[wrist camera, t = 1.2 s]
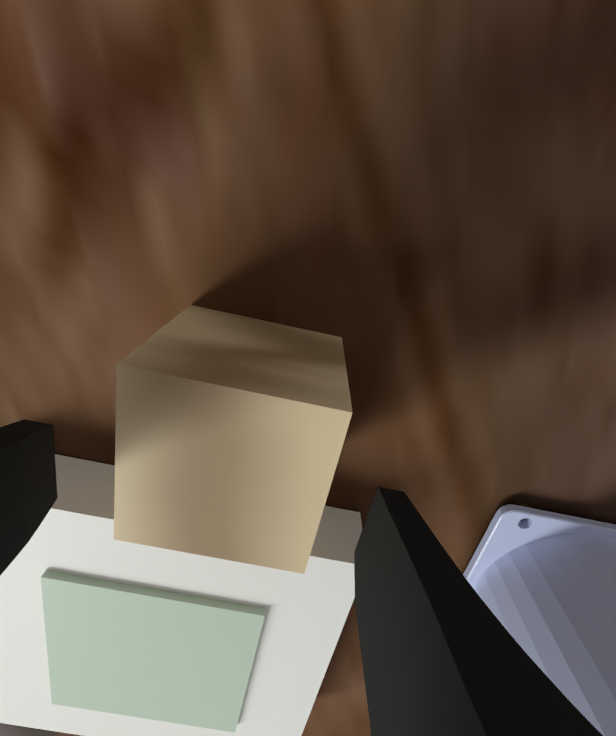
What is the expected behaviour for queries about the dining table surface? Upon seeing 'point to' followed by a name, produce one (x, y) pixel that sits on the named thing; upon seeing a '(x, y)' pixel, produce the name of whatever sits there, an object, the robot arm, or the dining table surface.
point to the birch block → (229, 438)
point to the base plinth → (163, 626)
